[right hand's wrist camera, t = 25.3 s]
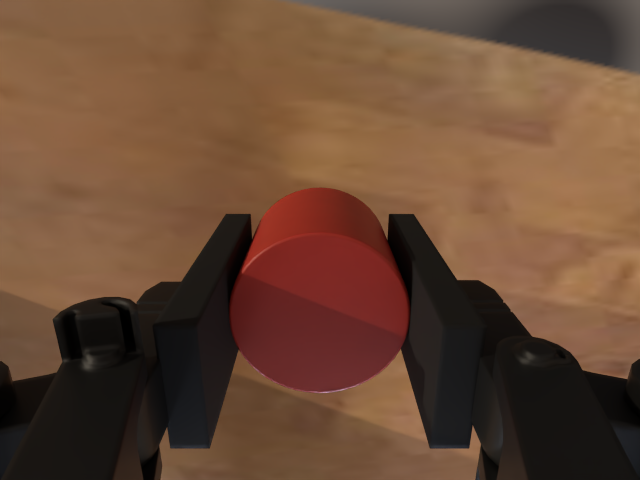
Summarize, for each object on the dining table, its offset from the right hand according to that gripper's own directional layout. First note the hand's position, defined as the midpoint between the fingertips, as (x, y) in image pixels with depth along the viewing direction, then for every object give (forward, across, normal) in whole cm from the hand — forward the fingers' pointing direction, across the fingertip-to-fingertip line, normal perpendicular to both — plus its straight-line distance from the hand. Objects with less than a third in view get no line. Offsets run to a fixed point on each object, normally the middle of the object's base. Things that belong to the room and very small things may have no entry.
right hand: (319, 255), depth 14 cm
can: (0, 0, 0) cm, 0 cm away
